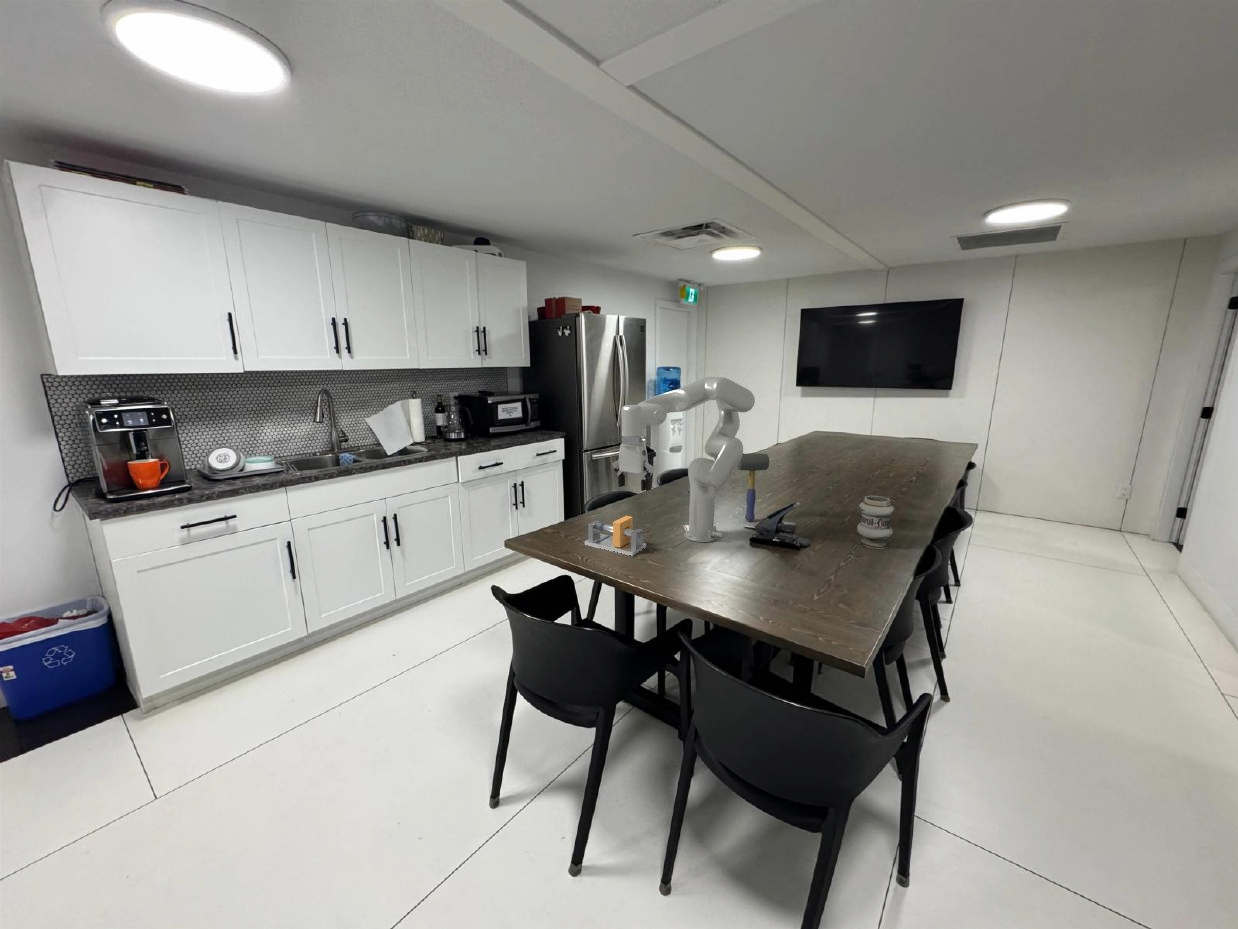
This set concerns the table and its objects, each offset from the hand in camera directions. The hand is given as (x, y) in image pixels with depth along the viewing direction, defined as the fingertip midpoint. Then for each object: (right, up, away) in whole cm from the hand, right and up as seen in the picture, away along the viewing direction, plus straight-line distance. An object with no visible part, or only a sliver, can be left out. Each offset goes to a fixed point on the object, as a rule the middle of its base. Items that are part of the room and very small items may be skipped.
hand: (632, 488), depth 171 cm
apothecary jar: (+91, -22, +10) cm, 94 cm away
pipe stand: (-6, -22, +9) cm, 25 cm away
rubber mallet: (+52, -16, +38) cm, 66 cm away
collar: (-3, -21, +7) cm, 22 cm away
